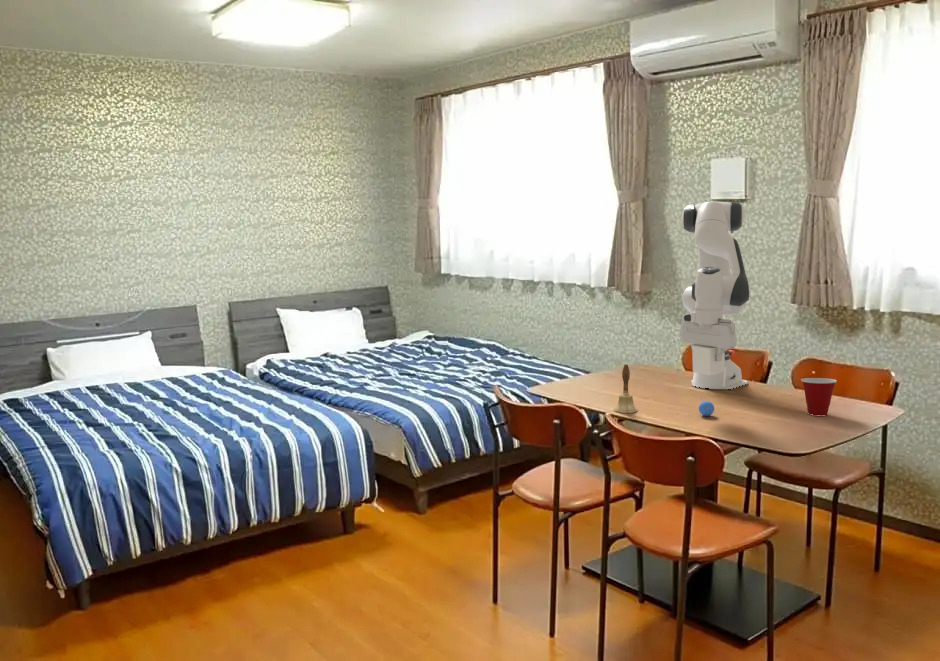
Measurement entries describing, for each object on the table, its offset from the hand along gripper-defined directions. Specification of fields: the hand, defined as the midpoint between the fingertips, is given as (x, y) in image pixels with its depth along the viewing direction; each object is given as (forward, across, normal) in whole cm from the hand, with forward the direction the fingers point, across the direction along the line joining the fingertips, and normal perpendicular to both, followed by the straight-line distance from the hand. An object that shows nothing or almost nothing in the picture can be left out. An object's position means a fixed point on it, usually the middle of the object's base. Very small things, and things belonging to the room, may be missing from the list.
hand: (707, 359), depth 269 cm
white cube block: (+4, 0, -1) cm, 4 cm away
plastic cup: (+19, -21, -30) cm, 41 cm away
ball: (+17, 0, 0) cm, 17 cm away
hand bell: (+19, +22, +15) cm, 33 cm away
